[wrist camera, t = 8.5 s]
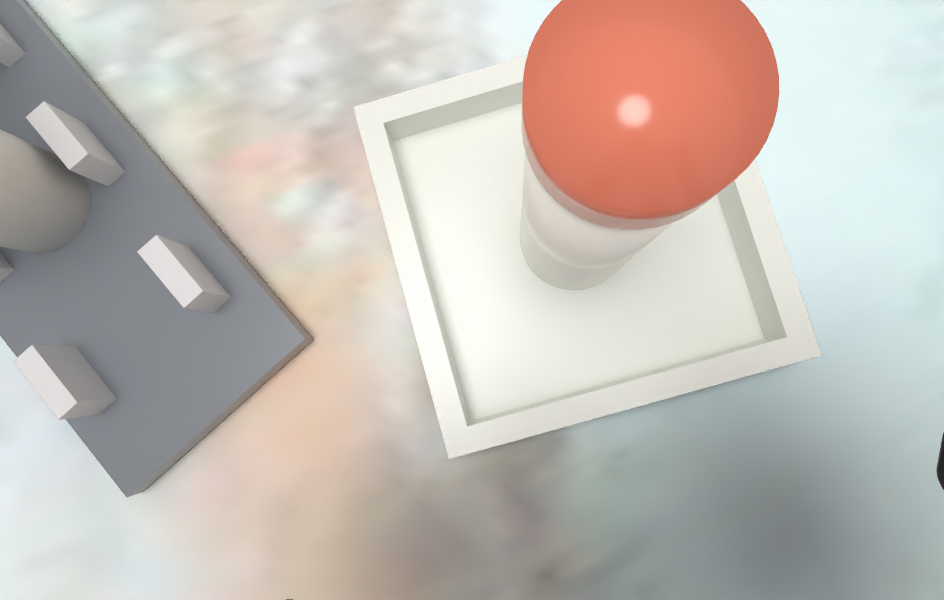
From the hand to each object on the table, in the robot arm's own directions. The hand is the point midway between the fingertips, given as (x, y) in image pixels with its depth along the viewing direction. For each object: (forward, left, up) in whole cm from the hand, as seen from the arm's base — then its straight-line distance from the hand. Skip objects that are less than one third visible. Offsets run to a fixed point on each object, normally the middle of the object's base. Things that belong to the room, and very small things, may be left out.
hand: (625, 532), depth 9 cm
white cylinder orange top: (+6, -2, -12) cm, 14 cm away
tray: (+6, -2, -13) cm, 15 cm away
